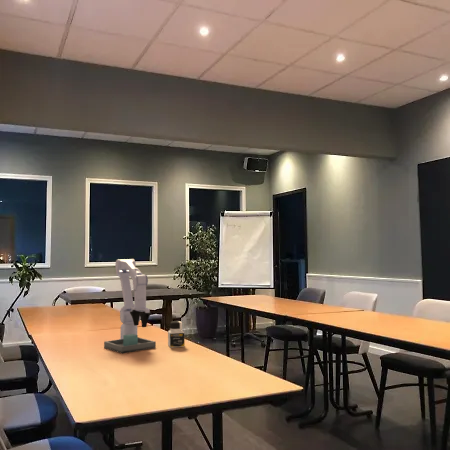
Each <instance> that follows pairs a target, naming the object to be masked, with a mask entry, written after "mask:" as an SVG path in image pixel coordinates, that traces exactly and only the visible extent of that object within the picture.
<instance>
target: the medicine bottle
mask: <svg viewBox="0 0 450 450" xmlns="http://www.w3.org/2000/svg"><path fill="white" fill-rule="evenodd" d="M185 337H186V336H185V332H184V331H183V322H182V321H180V320H174V321H173V320H172V321H170V323H169V330H168V331H167V345H168V347H169V348H170V349H172V348H185V339H186V338H185Z"/></svg>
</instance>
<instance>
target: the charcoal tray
mask: <svg viewBox="0 0 450 450" xmlns="http://www.w3.org/2000/svg"><path fill="white" fill-rule="evenodd" d="M156 347H157V343H156V340H155V341H154V340H150V339H146V338H143V337H139V336H138V344H135V345H128V346H123V339H120V338H119V339H114V340H113V339H112V340H111V339H110V340H104V341H103V348H104V349H106V350H110V351H113V352H117V353H119V354H128V353H134V352H140V351H146V350H152V349H157V348H156Z"/></svg>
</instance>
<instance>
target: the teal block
mask: <svg viewBox="0 0 450 450" xmlns="http://www.w3.org/2000/svg"><path fill="white" fill-rule="evenodd" d="M138 337H139V335H138V334H137V335H135V334H129V335H123V346H128V345H135V344H138Z"/></svg>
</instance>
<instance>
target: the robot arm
mask: <svg viewBox="0 0 450 450" xmlns="http://www.w3.org/2000/svg"><path fill="white" fill-rule="evenodd" d="M136 266H137V265H136V261H135V259H134V258H129V259H128V258H127V259H125V258H124V259H119V258H118V259H116V260H115V266H114V267H115V272H116V276H117V277H119V280H120V286H121V291H122V298H123V299H122V300H123V303H124V306H122V307H121V308H120V311H119V314H120V315H119V319H120V323H122V324H121V325H120V335H119V336H120V338H119V339H123V335H129V334H135V335H138V326H139V324H141V327H142V328H146V327H147V325H148V321H149V318H150V316H151V313H152V312H151V311H150V308H148V307H147V286H148V282H149V278H148V276H147V274H143V273H142V272H141V270H140V269H139V268H138V267H136ZM130 278H131V279H132V286H131V282H130V281H131V279H130ZM132 287H133V291H134V292H133V291H132ZM132 292H133V293H134V296H133V294H132ZM133 297H134V299H133ZM140 321H141V323H140Z"/></svg>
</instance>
